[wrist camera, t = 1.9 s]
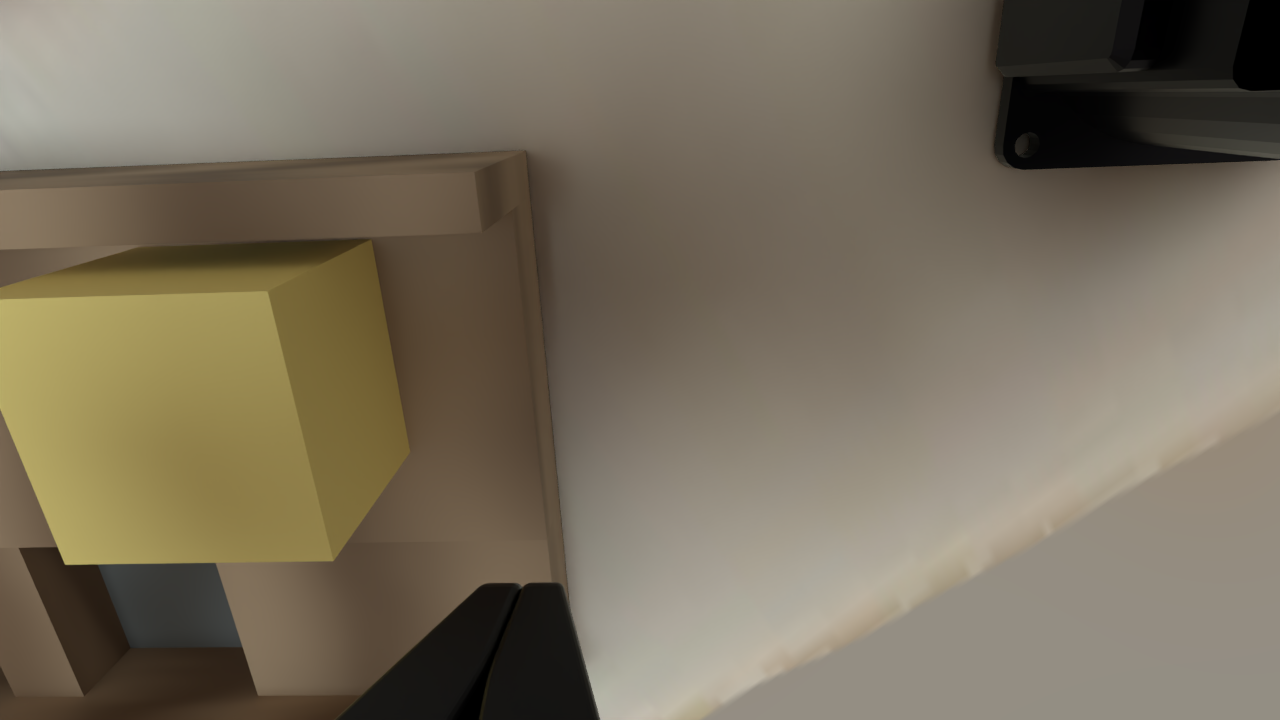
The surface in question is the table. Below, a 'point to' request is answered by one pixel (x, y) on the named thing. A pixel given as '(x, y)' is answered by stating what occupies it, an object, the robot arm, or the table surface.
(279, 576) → the wooden tray
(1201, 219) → the table surface
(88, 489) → the block
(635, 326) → the table surface
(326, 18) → the table surface
